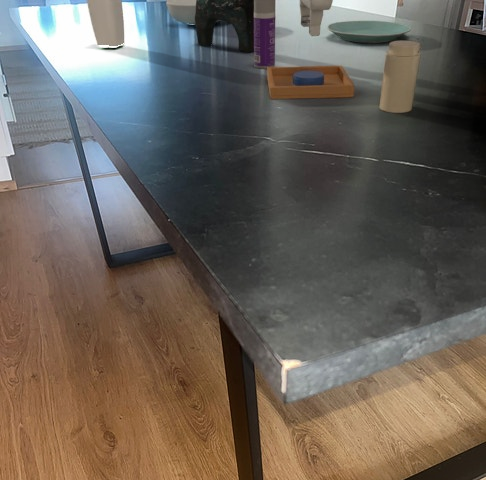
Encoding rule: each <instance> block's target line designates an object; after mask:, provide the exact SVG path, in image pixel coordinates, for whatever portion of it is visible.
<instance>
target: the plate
mask: <svg viewBox="0 0 486 480" xmlns="http://www.w3.org/2000/svg"><path fill="white" fill-rule="evenodd" d="M326 27H327V30H328V31H330V32H331V33H333V34H334V35H336V36H337V37H338V38H340V39H341V40H344V41H347V42H354V43H355V42H356V43H366V44H368V43H369V44H370V43H371V44H372V43H373V44H376V43H388V42H393V41H396V39H398V38H400V37H402V36H403V35H405V34H407V33H409V32H411V31H412V27H410V26H409V25H406V24H402V23H398V22H393V21H386V20H385V21H383V20H346V21H338V22H333V23H330V24H328V25H327V26H326Z"/></svg>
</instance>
